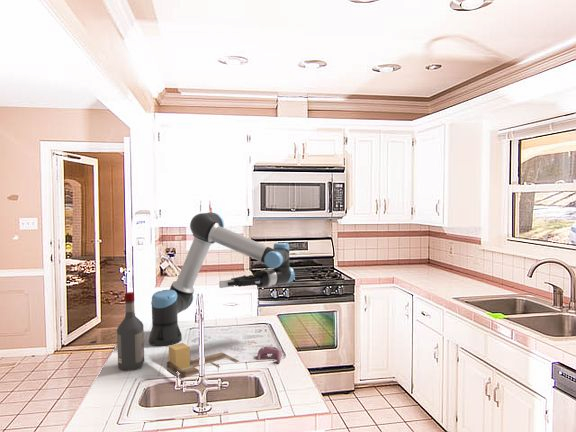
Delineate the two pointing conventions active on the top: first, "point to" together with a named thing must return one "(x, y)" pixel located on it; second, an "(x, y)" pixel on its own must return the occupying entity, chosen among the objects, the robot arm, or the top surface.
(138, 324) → the liquor
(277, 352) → the pink arch block
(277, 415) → the top surface
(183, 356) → the ochre block
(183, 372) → the trap box
